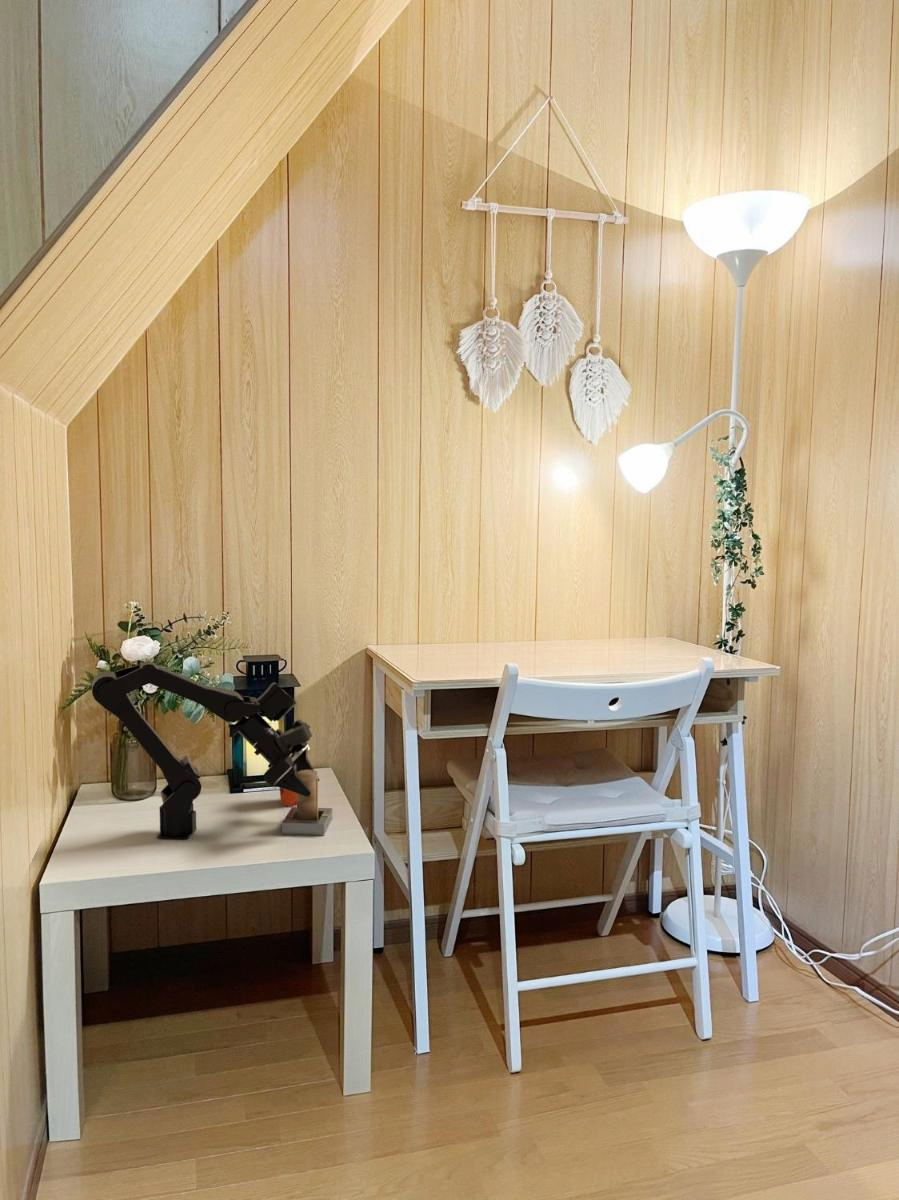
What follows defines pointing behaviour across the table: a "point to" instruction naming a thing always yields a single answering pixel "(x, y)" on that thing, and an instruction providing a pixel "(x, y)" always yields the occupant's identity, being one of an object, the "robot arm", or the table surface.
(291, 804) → the paper cup
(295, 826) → the grey square socket base
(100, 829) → the table surface
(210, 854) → the table surface
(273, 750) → the robot arm
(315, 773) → the walnut peg
